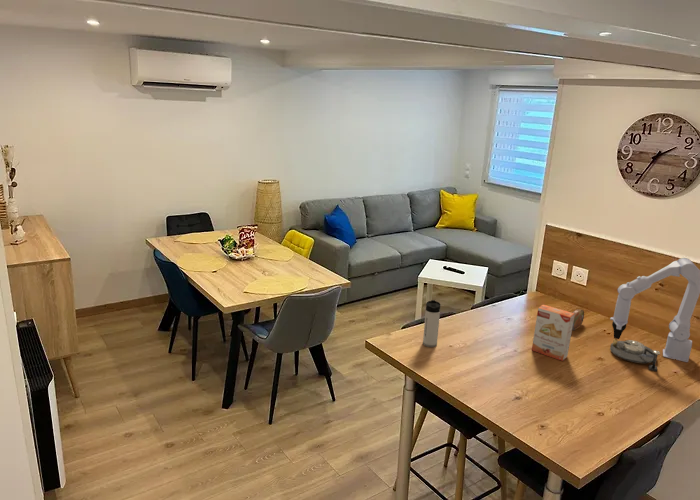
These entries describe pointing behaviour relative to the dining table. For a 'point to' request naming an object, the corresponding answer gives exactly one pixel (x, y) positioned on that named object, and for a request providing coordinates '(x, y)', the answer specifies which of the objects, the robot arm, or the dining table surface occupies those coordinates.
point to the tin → (578, 318)
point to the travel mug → (431, 323)
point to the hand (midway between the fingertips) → (616, 338)
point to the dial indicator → (655, 353)
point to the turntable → (618, 351)
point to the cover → (633, 347)
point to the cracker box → (553, 332)
